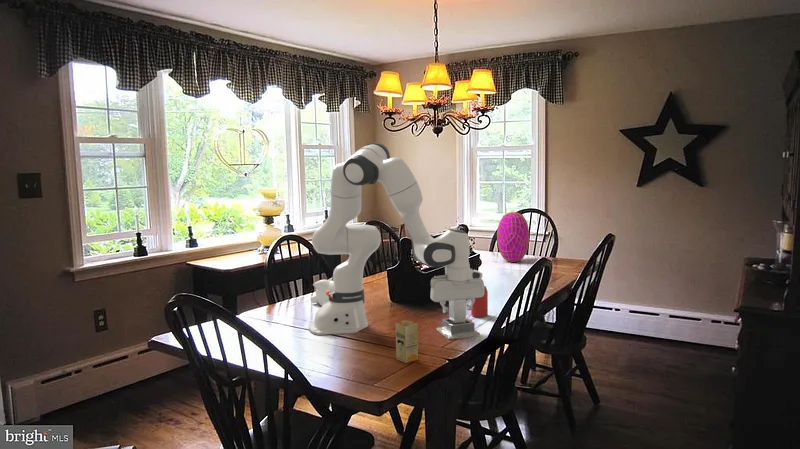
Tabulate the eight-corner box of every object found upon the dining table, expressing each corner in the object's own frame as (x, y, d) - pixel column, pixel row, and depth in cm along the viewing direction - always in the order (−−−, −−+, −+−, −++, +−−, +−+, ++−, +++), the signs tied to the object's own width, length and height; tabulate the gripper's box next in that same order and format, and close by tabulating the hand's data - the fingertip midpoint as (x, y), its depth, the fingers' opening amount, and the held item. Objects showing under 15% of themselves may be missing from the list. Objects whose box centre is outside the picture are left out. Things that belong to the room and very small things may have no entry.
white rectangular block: (454, 333, 202) (454, 300, 201) (449, 329, 207) (448, 297, 206) (466, 331, 204) (465, 299, 203) (460, 327, 208) (460, 296, 207)
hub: (449, 339, 198) (449, 327, 197) (436, 329, 209) (436, 318, 209) (480, 335, 202) (480, 323, 201) (466, 326, 213) (465, 315, 212)
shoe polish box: (408, 355, 183) (407, 319, 182) (418, 359, 179) (417, 322, 178) (396, 358, 180) (395, 322, 179) (405, 363, 176) (405, 325, 175)
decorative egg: (527, 258, 350) (527, 210, 347) (530, 264, 331) (531, 213, 328) (496, 258, 353) (496, 210, 349) (497, 264, 334) (497, 214, 330)
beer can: (475, 318, 223) (474, 289, 221) (468, 314, 229) (468, 285, 228) (490, 317, 224) (490, 287, 223) (483, 313, 231) (483, 284, 229)
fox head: (318, 282, 261) (294, 289, 242) (348, 271, 254) (325, 277, 236) (328, 310, 260) (304, 319, 241) (357, 300, 253) (335, 308, 235)
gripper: (434, 278, 197) (434, 316, 199) (486, 273, 204) (486, 310, 205) (427, 274, 203) (427, 312, 205) (478, 269, 210) (478, 306, 211)
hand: (457, 311), depth 205 cm, fingers open, 8 cm apart
